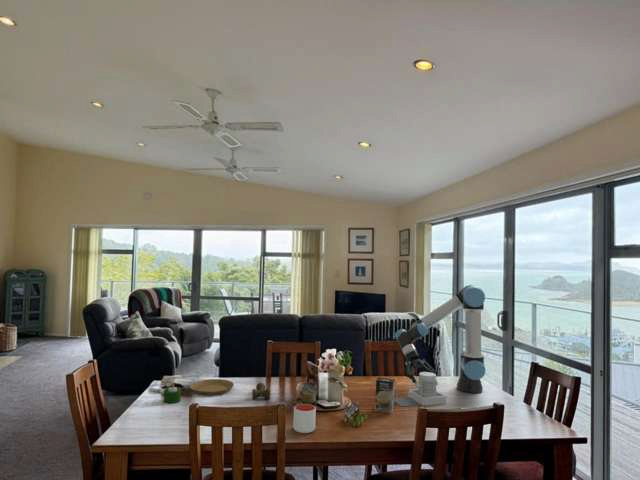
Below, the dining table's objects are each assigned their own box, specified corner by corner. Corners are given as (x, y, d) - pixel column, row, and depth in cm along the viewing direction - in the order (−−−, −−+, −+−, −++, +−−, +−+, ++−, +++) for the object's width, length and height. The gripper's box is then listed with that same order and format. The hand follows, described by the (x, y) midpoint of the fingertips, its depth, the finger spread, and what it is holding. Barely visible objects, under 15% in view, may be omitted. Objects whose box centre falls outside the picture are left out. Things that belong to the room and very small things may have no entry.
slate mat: (409, 397, 247) (409, 397, 247) (420, 404, 236) (420, 404, 236) (390, 399, 243) (390, 398, 243) (401, 406, 232) (401, 406, 232)
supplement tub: (439, 401, 243) (440, 375, 243) (427, 404, 238) (428, 377, 238) (426, 396, 251) (427, 370, 251) (414, 398, 246) (415, 372, 246)
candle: (182, 402, 226) (182, 383, 226) (165, 404, 222) (166, 385, 222) (178, 397, 233) (179, 379, 234) (162, 399, 229) (163, 380, 229)
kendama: (268, 391, 251) (270, 402, 231) (252, 392, 249) (252, 403, 229) (269, 381, 251) (270, 391, 231) (252, 382, 249) (252, 391, 230)
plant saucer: (181, 391, 245) (181, 385, 245) (213, 381, 265) (213, 376, 265) (210, 400, 231) (211, 394, 232) (242, 389, 251) (242, 384, 252)
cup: (292, 425, 201) (293, 403, 201) (314, 425, 202) (315, 403, 202) (293, 434, 191) (294, 411, 192) (315, 434, 192) (316, 411, 192)
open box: (430, 394, 254) (430, 388, 254) (446, 403, 240) (446, 396, 240) (408, 396, 249) (408, 389, 249) (423, 405, 235) (423, 398, 235)
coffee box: (374, 411, 223) (375, 379, 224) (376, 407, 229) (377, 376, 230) (392, 414, 220) (393, 382, 221) (394, 409, 226) (395, 379, 227)
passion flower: (345, 433, 208) (340, 407, 215) (368, 428, 209) (362, 403, 216) (347, 427, 199) (341, 401, 206) (370, 423, 200) (363, 397, 207)
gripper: (423, 355, 266) (440, 387, 252) (391, 358, 253) (407, 392, 240) (429, 348, 261) (447, 380, 248) (397, 351, 249) (414, 385, 235)
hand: (427, 386), depth 244 cm, fingers open, 13 cm apart
